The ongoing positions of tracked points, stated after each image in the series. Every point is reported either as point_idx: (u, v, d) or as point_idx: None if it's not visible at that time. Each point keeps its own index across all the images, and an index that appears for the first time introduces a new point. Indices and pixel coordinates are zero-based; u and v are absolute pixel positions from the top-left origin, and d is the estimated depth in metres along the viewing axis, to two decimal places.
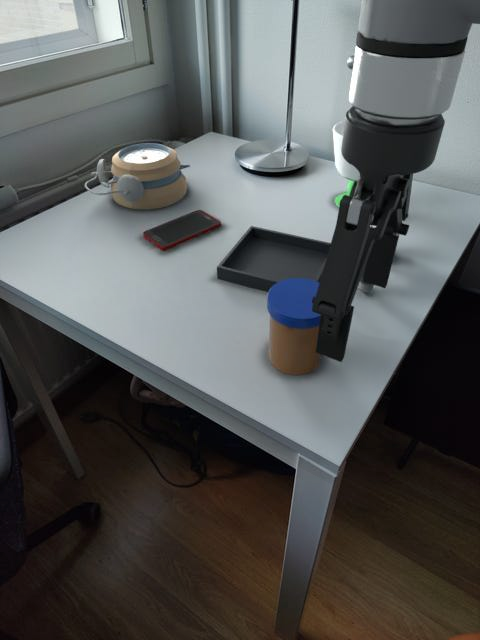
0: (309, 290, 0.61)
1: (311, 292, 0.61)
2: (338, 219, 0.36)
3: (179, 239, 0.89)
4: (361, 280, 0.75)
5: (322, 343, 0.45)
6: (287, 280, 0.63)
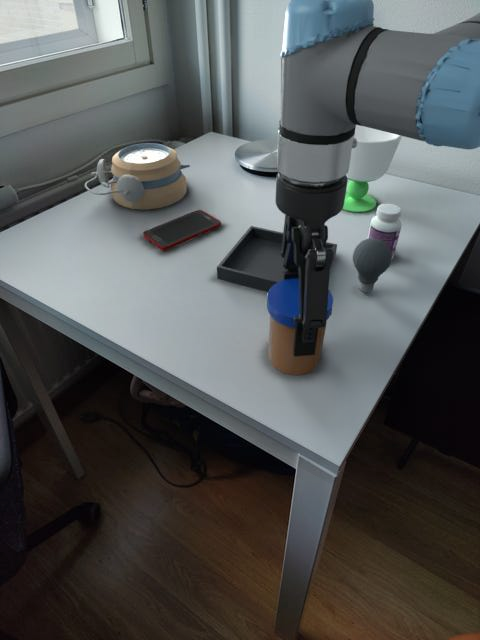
0: None
1: None
2: None
3: (179, 239, 0.89)
4: (361, 280, 0.75)
5: None
6: (287, 280, 0.63)
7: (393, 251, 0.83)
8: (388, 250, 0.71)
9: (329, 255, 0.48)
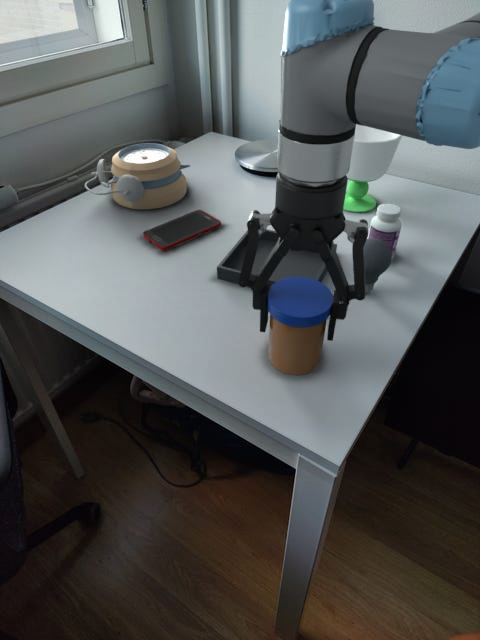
0: (291, 287, 0.61)
1: (295, 287, 0.61)
2: None
3: (179, 239, 0.89)
4: None
5: None
6: (270, 297, 0.60)
7: (393, 251, 0.83)
8: (388, 250, 0.71)
9: (367, 224, 0.52)
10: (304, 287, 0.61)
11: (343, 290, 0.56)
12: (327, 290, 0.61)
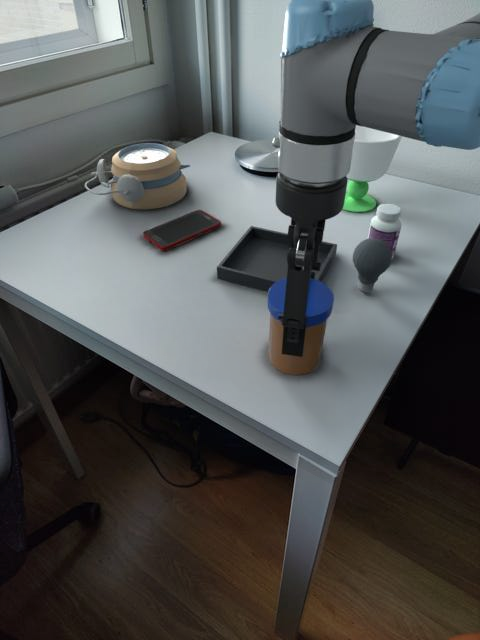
0: None
1: None
2: (288, 265, 0.49)
3: (179, 239, 0.89)
4: (361, 280, 0.75)
5: (286, 346, 0.59)
6: None
7: (393, 251, 0.83)
8: (388, 250, 0.71)
9: None
10: None
11: None
12: None
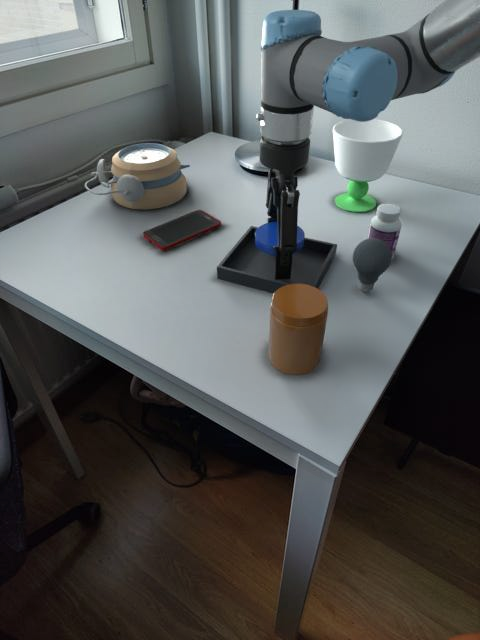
0: (272, 238, 0.78)
1: (270, 236, 0.78)
2: (283, 204, 0.68)
3: (179, 239, 0.89)
4: (361, 280, 0.75)
5: (278, 272, 0.79)
6: None
7: (393, 251, 0.83)
8: (388, 250, 0.71)
9: None
10: (268, 233, 0.79)
11: None
12: (266, 224, 0.82)
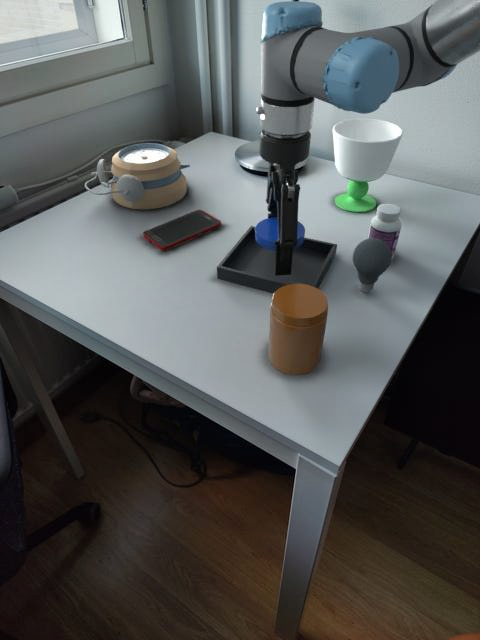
0: (272, 233, 0.78)
1: (271, 232, 0.78)
2: (283, 198, 0.68)
3: (179, 239, 0.89)
4: (361, 280, 0.75)
5: (279, 268, 0.78)
6: None
7: (393, 251, 0.83)
8: (388, 250, 0.71)
9: None
10: (268, 228, 0.79)
11: None
12: (266, 220, 0.81)
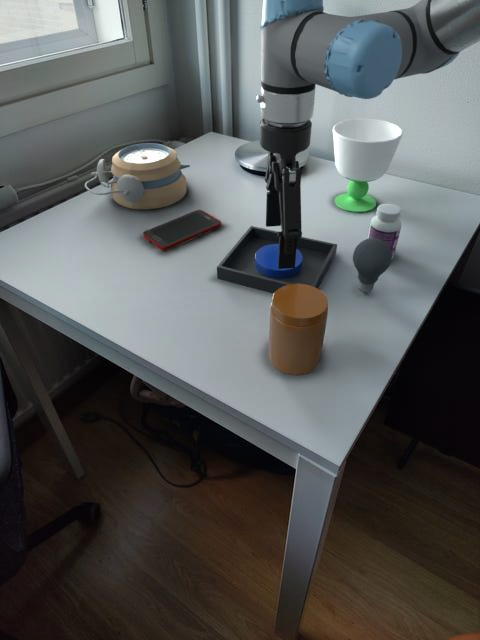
0: (271, 261, 0.81)
1: (270, 259, 0.82)
2: (284, 182, 0.66)
3: (179, 239, 0.89)
4: (361, 280, 0.75)
5: (282, 261, 0.74)
6: (288, 268, 0.80)
7: (393, 251, 0.83)
8: (388, 250, 0.71)
9: None
10: (267, 256, 0.82)
11: None
12: (265, 247, 0.85)
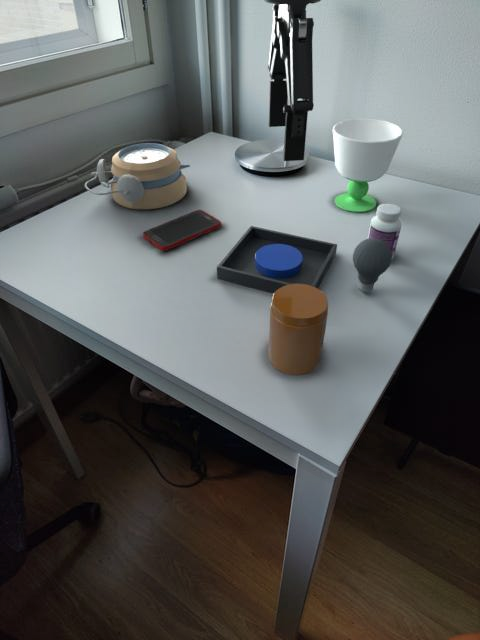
0: (271, 261, 0.81)
1: (270, 259, 0.82)
2: (293, 36, 0.54)
3: (179, 239, 0.89)
4: (361, 280, 0.75)
5: (289, 150, 0.62)
6: (288, 268, 0.80)
7: (393, 251, 0.83)
8: (388, 250, 0.71)
9: None
10: (267, 256, 0.82)
11: None
12: (265, 247, 0.85)
